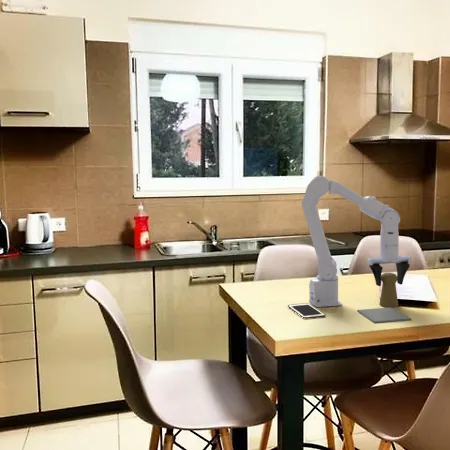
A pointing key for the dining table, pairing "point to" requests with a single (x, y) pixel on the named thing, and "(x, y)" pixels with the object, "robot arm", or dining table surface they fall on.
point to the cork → (388, 290)
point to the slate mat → (383, 315)
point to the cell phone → (306, 310)
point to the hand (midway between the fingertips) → (389, 284)
